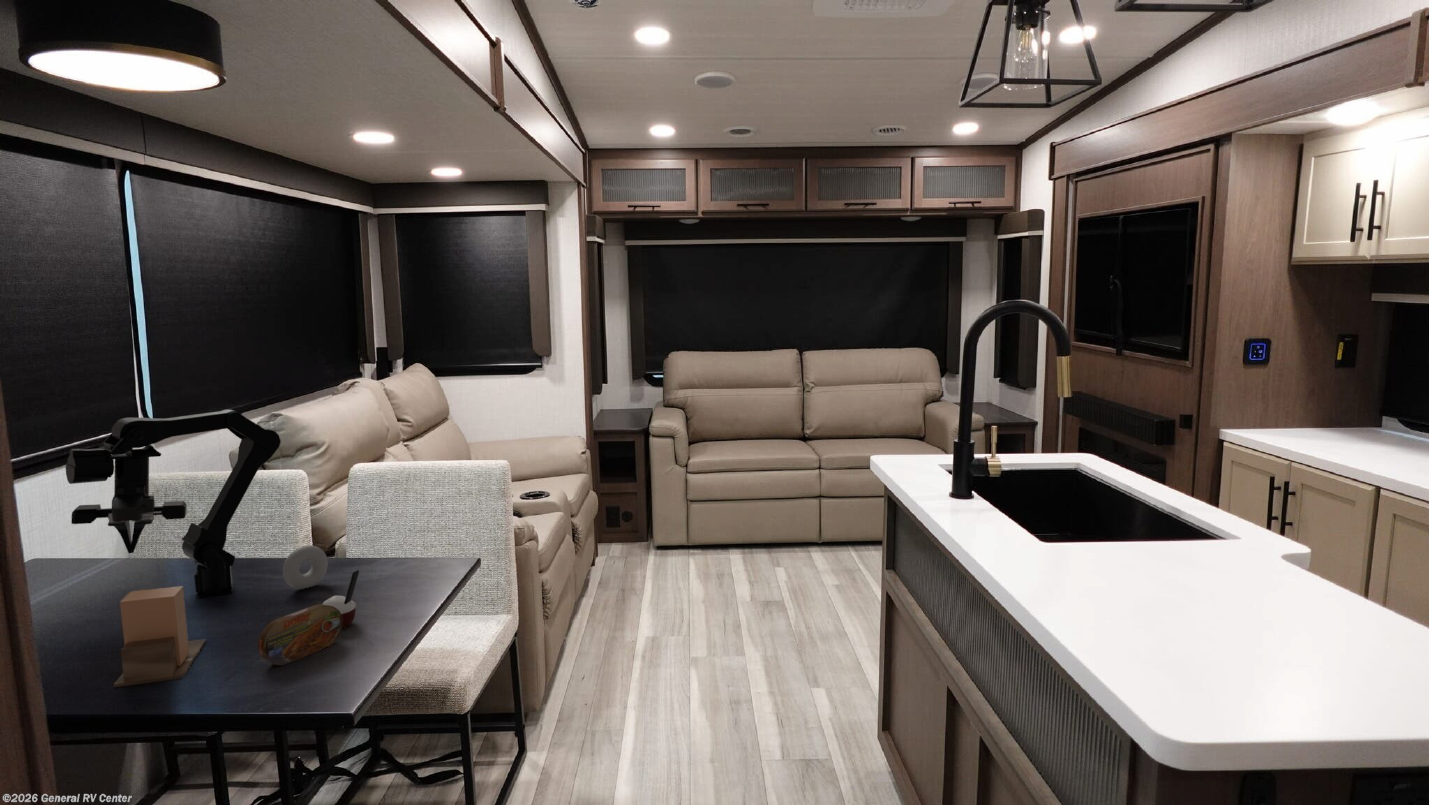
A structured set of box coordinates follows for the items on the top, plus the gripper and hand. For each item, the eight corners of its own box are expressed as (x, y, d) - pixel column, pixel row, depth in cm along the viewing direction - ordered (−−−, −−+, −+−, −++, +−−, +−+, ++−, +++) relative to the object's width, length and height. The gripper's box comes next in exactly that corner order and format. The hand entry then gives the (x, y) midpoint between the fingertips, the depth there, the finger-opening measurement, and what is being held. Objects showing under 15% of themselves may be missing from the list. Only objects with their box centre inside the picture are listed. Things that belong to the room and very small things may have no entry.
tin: (266, 673, 138) (263, 628, 136) (257, 668, 139) (253, 624, 138) (345, 641, 150) (342, 600, 149) (335, 637, 152) (333, 596, 151)
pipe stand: (144, 649, 146) (141, 616, 145) (206, 641, 149) (203, 609, 148) (114, 687, 132) (110, 651, 131) (182, 678, 135) (179, 642, 134)
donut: (289, 596, 172) (286, 553, 170) (281, 593, 173) (277, 550, 172) (332, 583, 180) (329, 541, 178) (323, 580, 182) (321, 539, 180)
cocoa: (314, 627, 157) (307, 571, 155) (344, 616, 162) (337, 561, 160) (338, 638, 151) (331, 579, 150) (369, 626, 156) (362, 569, 155)
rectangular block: (137, 659, 140) (130, 591, 138) (189, 653, 143) (182, 586, 141) (127, 672, 135) (119, 602, 133) (180, 665, 138) (174, 596, 136)
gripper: (65, 487, 148) (65, 567, 149) (183, 484, 158) (182, 559, 159) (77, 477, 158) (76, 552, 159) (187, 474, 167) (186, 545, 168)
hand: (131, 552), depth 161 cm, fingers closed
